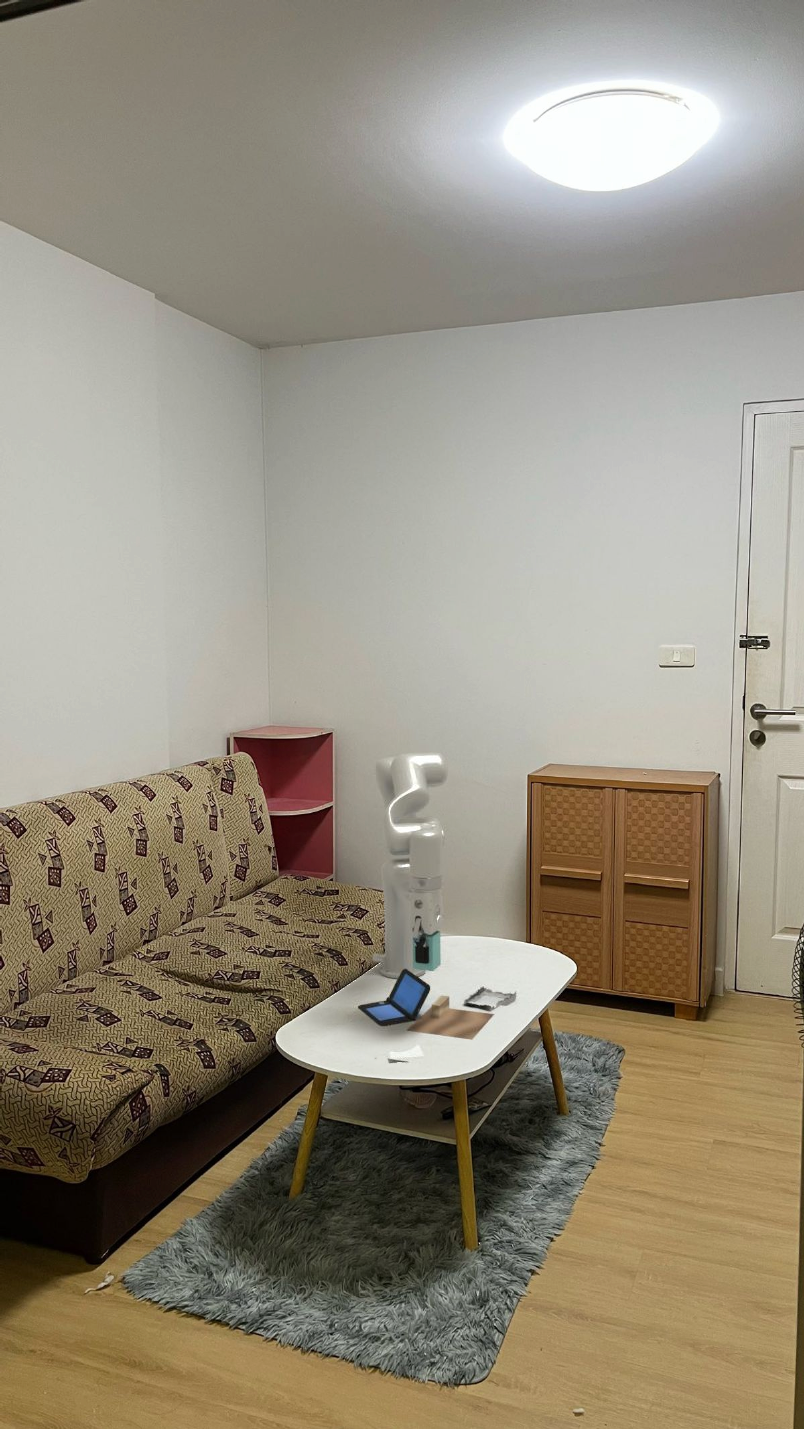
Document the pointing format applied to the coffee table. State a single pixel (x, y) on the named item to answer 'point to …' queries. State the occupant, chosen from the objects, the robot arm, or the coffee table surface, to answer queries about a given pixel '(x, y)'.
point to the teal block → (430, 952)
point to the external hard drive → (406, 1054)
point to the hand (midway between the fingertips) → (426, 958)
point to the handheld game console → (399, 1001)
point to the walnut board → (450, 1021)
